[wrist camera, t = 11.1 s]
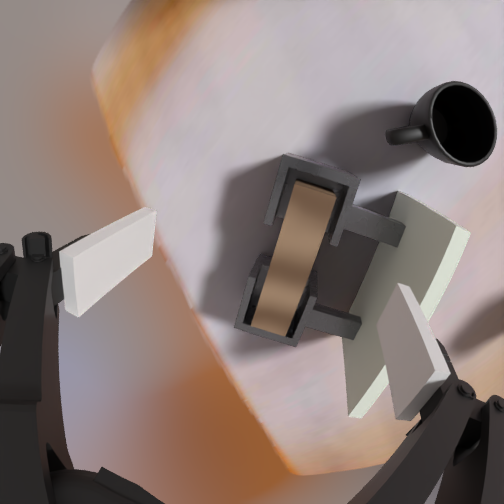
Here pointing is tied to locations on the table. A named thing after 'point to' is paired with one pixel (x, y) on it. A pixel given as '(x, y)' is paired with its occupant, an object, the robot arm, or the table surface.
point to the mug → (451, 125)
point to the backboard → (384, 282)
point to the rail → (294, 255)
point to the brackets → (340, 219)
